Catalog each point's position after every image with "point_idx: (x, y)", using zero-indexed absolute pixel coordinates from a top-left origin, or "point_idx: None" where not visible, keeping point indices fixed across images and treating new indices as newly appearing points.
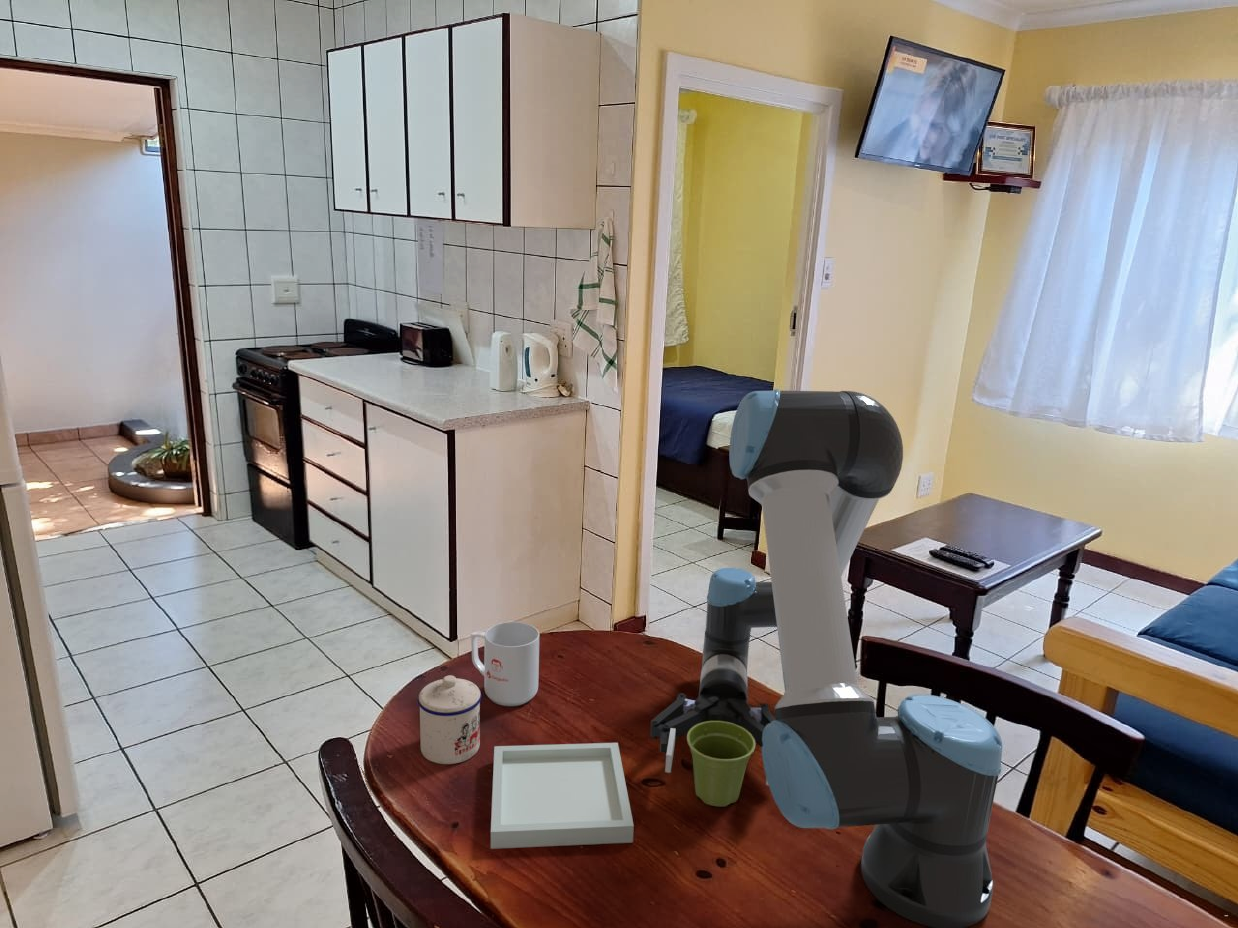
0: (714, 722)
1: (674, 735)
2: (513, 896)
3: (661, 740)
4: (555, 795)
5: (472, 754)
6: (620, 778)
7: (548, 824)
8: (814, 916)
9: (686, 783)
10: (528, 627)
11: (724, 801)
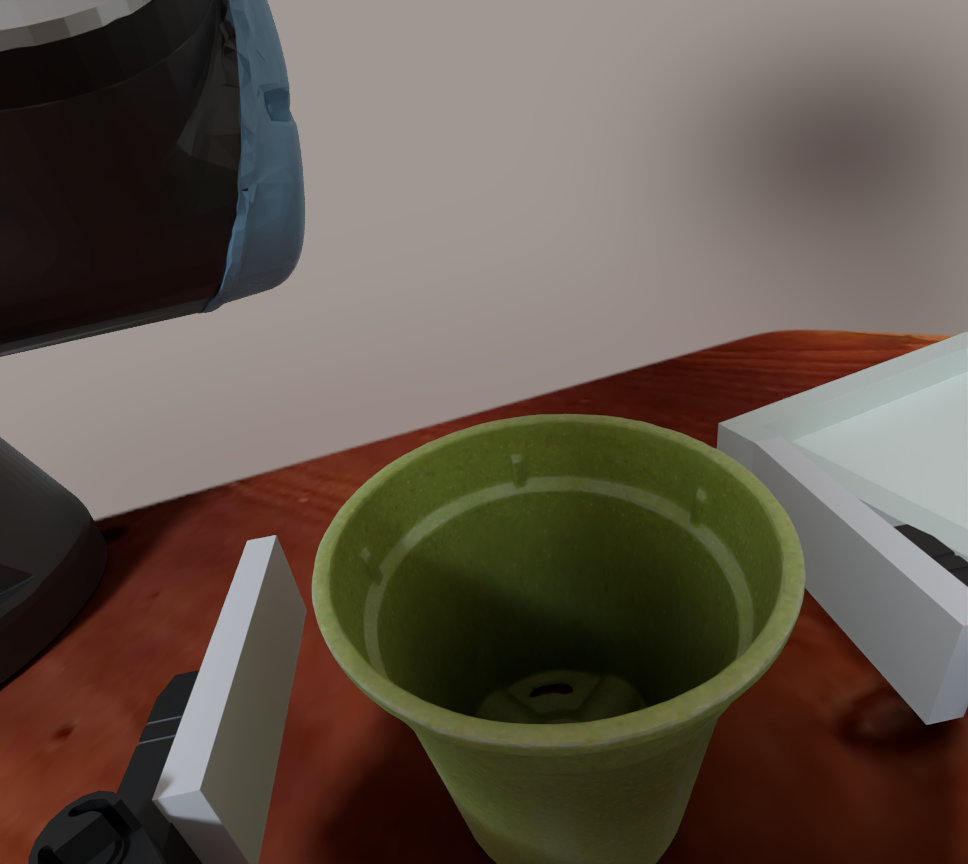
0: (682, 696)
1: (889, 559)
2: (812, 342)
3: (938, 547)
4: None
5: None
6: (957, 539)
7: (909, 365)
8: (273, 472)
9: (745, 784)
10: None
11: (507, 661)
